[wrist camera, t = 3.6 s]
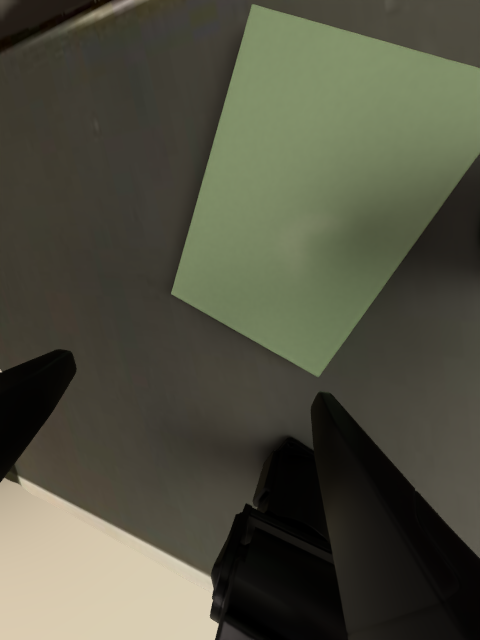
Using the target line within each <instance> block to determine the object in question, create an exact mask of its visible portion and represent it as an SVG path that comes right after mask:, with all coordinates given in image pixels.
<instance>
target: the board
mask: <svg viewBox="0 0 480 640" xmlns="http://www.w3.org/2000/svg"><path fill="white" fill-rule="evenodd" d="M479 153H480V68H477V67H473V66H469V65H466V64H462V63H459V62H455V61H452V60H448V59H445V58H441V57H438V56H434V55H430V54H427V53H423V52H420V51H416V50H413V49H409V48H406V47H402V46H399V45H395V44H391V43H388V42H384V41H381V40H377V39H374V38H370V37H367V36H363V35H360V34H356V33H353V32H349V31H345V30H342V29H338V28H335V27H331V26H328V25H324V24H321V23H317V22H314V21H310V20H306V19H303V18H299V17H296V16H292V15H289V14H285V13H282V12H278V11H275V10H271V9H267V8H264V7H260V6H257V5H253V4H252V6H251V10H250V14H249V17H248V21H247V24H246V28H245V31H244V35H243V39H242V42H241V46H240V49H239V53H238V56H237V60H236V64H235V67H234V71H233V74H232V78H231V81H230V85H229V89H228V92H227V96H226V99H225V103H224V107H223V110H222V114H221V117H220V121H219V124H218V128H217V132H216V135H215V139H214V142H213V146H212V149H211V153H210V157H209V160H208V164H207V167H206V171H205V174H204V178H203V182H202V185H201V189H200V192H199V196H198V199H197V203H196V207H195V210H194V214H193V217H192V221H191V224H190V228H189V232H188V235H187V239H186V242H185V246H184V249H183V253H182V257H181V260H180V264H179V267H178V271H177V274H176V278H175V282H174V285H173V289H172V292H171V294H172V295H174V296H176V297H177V298H179V299H181V300H183V301H184V302H186V303H188V304H190V305H191V306H193V307H195V308H197V309H199V310H200V311H202V312H204V313H206V314H207V315H209V316H211V317H213V318H214V319H216V320H218V321H220V322H221V323H223V324H225V325H227V326H229V327H230V328H232V329H234V330H236V331H237V332H239V333H241V334H243V335H244V336H246V337H248V338H250V339H251V340H253V341H255V342H257V343H259V344H260V345H262V346H264V347H266V348H267V349H269V350H271V351H273V352H274V353H276V354H278V355H280V356H281V357H283V358H285V359H287V360H289V361H290V362H292V363H294V364H296V365H297V366H299V367H301V368H303V369H304V370H306V371H308V372H310V373H311V374H313V375H315V376H317V377H319V376H320V374H321V373H322V371H323V370H324V369H325V367H326V366H327V365H328V363H329V362H330V360H331V359H332V358H333V356H334V355H335V353H336V352H337V351H338V349H339V348H340V346H341V345H342V344H343V342H344V341H345V340H346V338H347V337H348V335H349V334H350V333H351V331H352V330H353V328H354V327H355V326H356V324H357V323H358V321H359V320H360V319H361V317H362V316H363V315H364V313H365V312H366V310H367V309H368V308H369V306H370V305H371V303H372V302H373V301H374V299H375V298H376V296H377V295H378V294H379V292H380V291H381V290H382V288H383V287H384V285H385V284H386V283H387V281H388V280H389V278H390V277H391V276H392V274H393V273H394V271H395V270H396V269H397V267H398V266H399V265H400V263H401V262H402V260H403V259H404V258H405V256H406V255H407V253H408V252H409V251H410V249H411V248H412V246H413V245H414V244H415V242H416V241H417V240H418V238H419V237H420V235H421V234H422V233H423V231H424V230H425V228H426V227H427V226H428V224H429V223H430V221H431V220H432V219H433V217H434V216H435V214H436V213H437V212H438V210H439V209H440V208H441V206H442V205H443V203H444V202H445V201H446V199H447V198H448V196H449V195H450V194H451V192H452V191H453V189H454V188H455V187H456V185H457V184H458V183H459V181H460V180H461V178H462V177H463V176H464V174H465V173H466V171H467V170H468V169H469V167H470V166H471V164H472V163H473V162H474V160H475V159H476V158H477V156H478V155H479Z"/></svg>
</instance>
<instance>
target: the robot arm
mask: <svg viewBox="0 0 480 640" xmlns="http://www.w3.org/2000/svg"><path fill="white" fill-rule="evenodd" d="M75 373H76V364H75V360H74V357H73V354H72V352H71V351H68V350H61V349H58V350H54V351H52V352H50V353H47V354H45V355H42V356H40V357H37V358H35V359H32V360H30V361H27V362H25V363H22V364H20V365H18V366H15V367H13V368H10V369H8V370H5V371H3V372H0V482H1V481H2V480H3V478H4V477H5V476H6V474H7V473H8V472H9V470H10V469H11V468H12V466H13V465H14V464H15V462H16V461H17V459H18V458H19V457H20V455H21V454H22V453H23V451H24V450H25V449H26V447H27V446H28V445H29V443H30V442H31V441H32V439H33V438H34V437H35V435H36V434H37V432H38V431H39V430H40V428H41V427H42V426H43V424H44V423H45V422H46V420H47V419H48V417H49V416H50V415H51V413H52V412H53V410H54V409H55V407H56V405H57V404H58V402H59V400H60V399H61V397H62V395H63V394H64V392H65V390H66V389H67V387H68V385H69V384H70V382H71V380H72V379H73V377H74V375H75ZM311 421H312V434H313V447H314V451H313V450H311V449H309V448H308V447H306V446H305V445H303V444H301V443H300V442H298V441H297V440H295V439H293V438H287V439H286V440H285V442H284V443H283V444H282V446H281V447H280V448H279V450H278V451H277V450H275V451H273V452H272V454H271V455H270V456H269V458H268V459H267V460H266V462H265V463H264V465H263V468H262V471H261V475H260V478H259V481H258V485H257V488H256V491H255V494H254V498H253V505H254V506H255V507H257V510H256V509H254V508H252V506H251V505H249V504H245V507H244V509H243V512H242V513H241V512H240V514H236V516H235V519H234V522H233V524H232V527H231V530H230V533H229V535H228V538H227V540H226V542H225V544H224V546H223V548H222V550H221V552H220V554H219V556H218V558H217V560H216V562H215V564H214V566H213V569H212V572H211V579H212V583H213V588H214V590H213V596H212V599H213V603H212V608H211V614H210V618H211V619H212V620H214V621H216V622H217V623H219V626H218V630H217V634H216V638H215V640H480V558H479V557H478V556H477V555H476V554H475V553H474V552H473V551H472V550H471V549H470V548H469V547H468V546H467V545H466V544H465V543H464V542H463V541H462V540H461V538H460V537H459V536H458V535H457V534H456V533H455V532H454V531H453V530H452V529H451V528H450V527H449V526H448V525H447V524H446V523H445V521H444V520H443V519H442V518H441V517H440V516H439V515H438V514H437V513H436V512H435V510H434V509H433V508H432V507H431V506H430V505H429V504H428V503H427V502H426V500H425V499H424V498H423V497H422V496H421V495H420V494H419V492H417V491H415V488H414V487H413V486H412V485H411V484H410V482H409V481H408V480H407V479H406V478H405V477H404V476H403V474H402V473H401V472H400V471H399V470H398V469H397V468H396V467H395V465H394V464H393V463H392V462H391V461H390V460H389V459H388V457H387V456H386V455H385V454H384V453H383V452H382V451H381V449H380V448H379V447H378V446H377V445H376V444H375V443H374V442H373V440H372V439H371V438H370V437H369V436H368V435H367V434H366V432H365V431H364V430H363V429H362V428H361V427H360V426H359V425H358V423H357V422H356V421H355V420H354V419H353V418H352V417H351V415H350V414H349V413H348V412H347V411H346V410H345V409H344V408H343V406H342V405H341V404H340V403H339V402H338V401H337V400H336V398H335V397H334V396H333V395H332V394H331V393H328V392H322V391H320V392H318V393H317V395H316V397H315V399H314V401H313V403H312V406H311ZM290 443H292V444H290Z"/></svg>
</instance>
